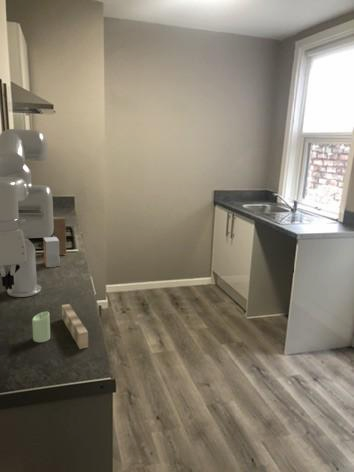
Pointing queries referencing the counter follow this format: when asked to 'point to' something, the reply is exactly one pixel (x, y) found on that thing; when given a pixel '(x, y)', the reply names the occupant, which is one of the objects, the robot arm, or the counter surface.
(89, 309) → the counter surface
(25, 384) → the counter surface
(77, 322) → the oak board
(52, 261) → the small box
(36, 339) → the candle
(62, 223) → the decorative block
